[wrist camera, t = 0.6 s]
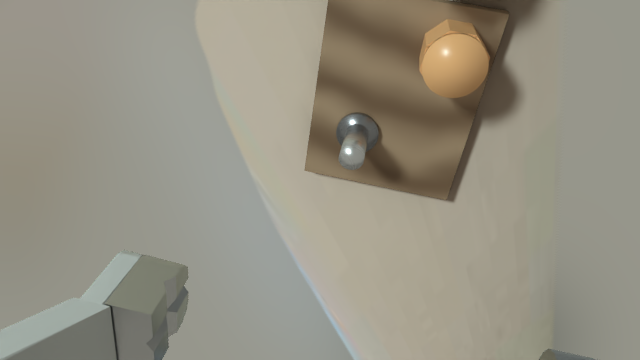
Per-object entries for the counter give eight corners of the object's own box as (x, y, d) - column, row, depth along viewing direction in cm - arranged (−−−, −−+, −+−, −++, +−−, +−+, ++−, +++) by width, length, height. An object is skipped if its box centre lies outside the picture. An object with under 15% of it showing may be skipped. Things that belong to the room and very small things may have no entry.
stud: (340, 108, 49) (331, 133, 44) (382, 117, 49) (378, 143, 44) (334, 146, 51) (325, 173, 46) (374, 154, 51) (369, 183, 46)
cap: (429, 15, 43) (431, 29, 39) (489, 26, 43) (497, 41, 38) (415, 73, 46) (415, 91, 42) (471, 83, 45) (477, 103, 41)
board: (333, -21, 44) (330, -18, 43) (506, 10, 43) (509, 14, 42) (307, 164, 55) (304, 170, 54) (445, 192, 54) (446, 200, 52)
